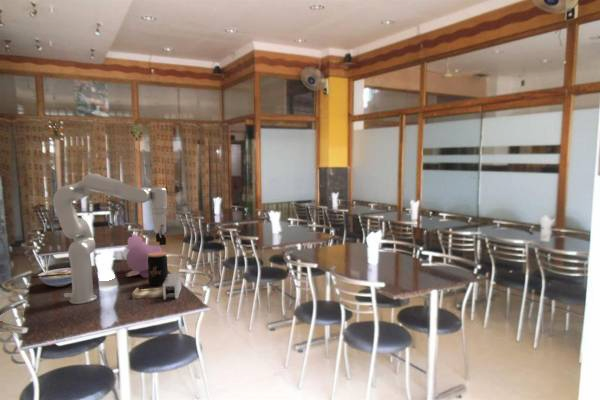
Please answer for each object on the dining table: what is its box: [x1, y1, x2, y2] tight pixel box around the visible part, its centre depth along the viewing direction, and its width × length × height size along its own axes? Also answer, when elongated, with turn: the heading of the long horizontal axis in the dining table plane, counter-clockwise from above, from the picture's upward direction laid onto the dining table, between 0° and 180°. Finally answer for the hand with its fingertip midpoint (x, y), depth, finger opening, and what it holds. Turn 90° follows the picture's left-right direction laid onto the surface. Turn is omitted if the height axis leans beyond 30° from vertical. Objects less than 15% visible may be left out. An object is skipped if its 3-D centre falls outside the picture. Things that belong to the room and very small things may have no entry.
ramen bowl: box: [31, 267, 72, 288], centre depth 245 cm, size 25×23×8 cm
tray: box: [131, 287, 163, 300], centre depth 225 cm, size 15×10×3 cm, turn 100°
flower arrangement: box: [125, 233, 163, 279], centre depth 266 cm, size 35×24×28 cm
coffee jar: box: [148, 251, 169, 287], centre depth 244 cm, size 11×11×18 cm
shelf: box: [162, 272, 183, 300], centre depth 226 cm, size 7×20×8 cm, turn 10°
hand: (161, 243), depth 222 cm, fingers open, 9 cm apart
